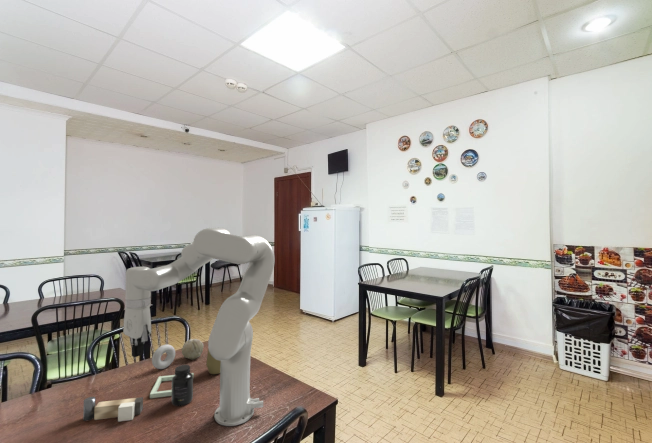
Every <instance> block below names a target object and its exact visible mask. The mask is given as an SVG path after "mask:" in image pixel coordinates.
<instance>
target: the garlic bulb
mask: <svg viewBox="0 0 652 443" xmlns="http://www.w3.org/2000/svg"><path fill="white" fill-rule="evenodd" d="M203 350H204V343H203V342H202V340H200V339H199V338H198V339H197V338H190V339H189V340H186V341H185V342H184V343H183V345H182V348H181V355H182V356H183V358H185V359H189V360H191V361H192V360H193V361H194V360H196V359H198V358H199V357H201V355H202V354H203Z"/></svg>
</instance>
